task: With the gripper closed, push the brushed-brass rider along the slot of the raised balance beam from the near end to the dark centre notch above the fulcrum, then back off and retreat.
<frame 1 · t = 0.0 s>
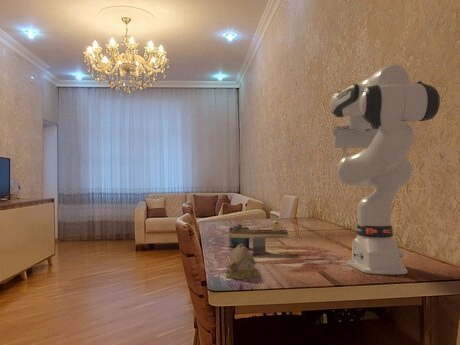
hand: (358, 159, 168), 39 cm above the table, tool pointing down, fingers open, 8 cm apart
ceramic model: (241, 274, 130), on the table
flask: (239, 247, 182), on the table
beam: (259, 252, 168), on the table
rider: (276, 227, 168), point 11 cm above the table, slide at -7.0 cm
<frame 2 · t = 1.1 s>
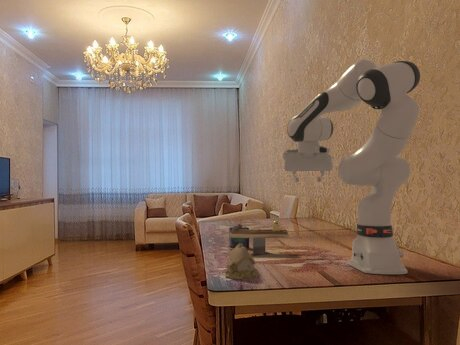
hand: (308, 181, 172), 29 cm above the table, tool pointing down, fingers open, 8 cm apart
nothing on the table moved.
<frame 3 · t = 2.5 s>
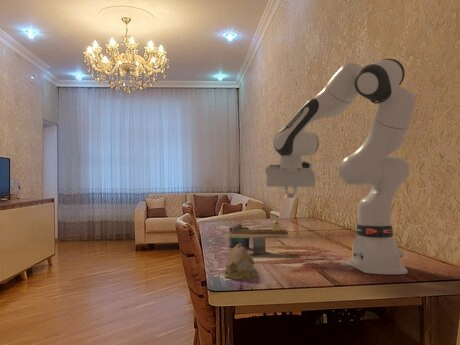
hand: (290, 197, 168), 23 cm above the table, tool pointing down, fingers closed
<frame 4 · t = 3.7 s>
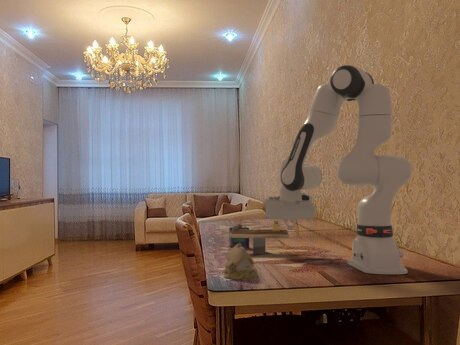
hand: (290, 229, 167), 10 cm above the table, tool pointing down, fingers closed
nothing on the table moved.
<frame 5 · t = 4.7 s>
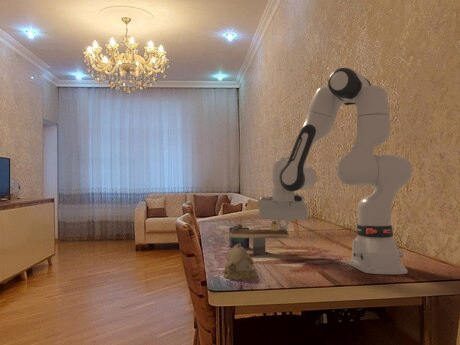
hand: (283, 230, 168), 9 cm above the table, tool pointing down, fingers closed
rider: (274, 227, 168), point 11 cm above the table, slide at -6.2 cm, touching gripper
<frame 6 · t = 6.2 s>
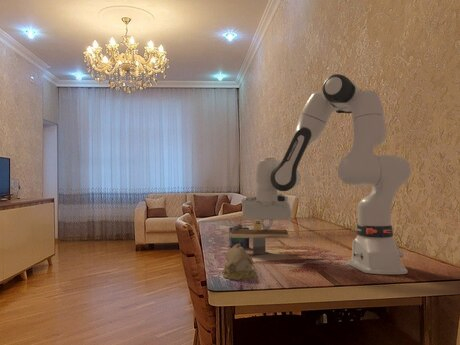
hand: (266, 230, 168), 9 cm above the table, tool pointing down, fingers closed
rider: (257, 227, 168), point 11 cm above the table, slide at 0.6 cm, touching gripper
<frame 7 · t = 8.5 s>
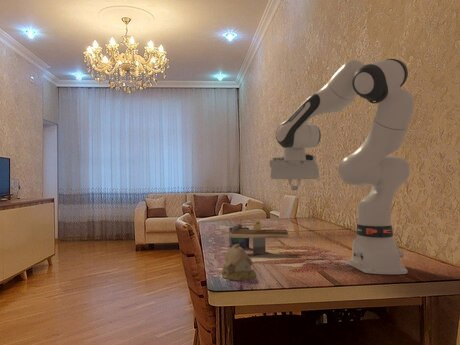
hand: (294, 190, 170), 26 cm above the table, tool pointing down, fingers closed
rider: (257, 227, 168), point 11 cm above the table, slide at 0.7 cm
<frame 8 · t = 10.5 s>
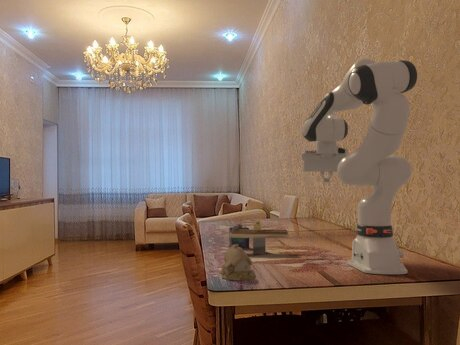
hand: (326, 182, 175), 29 cm above the table, tool pointing down, fingers closed
at the end: rider slide at 0.7 cm; the gripper is holding nothing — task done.
